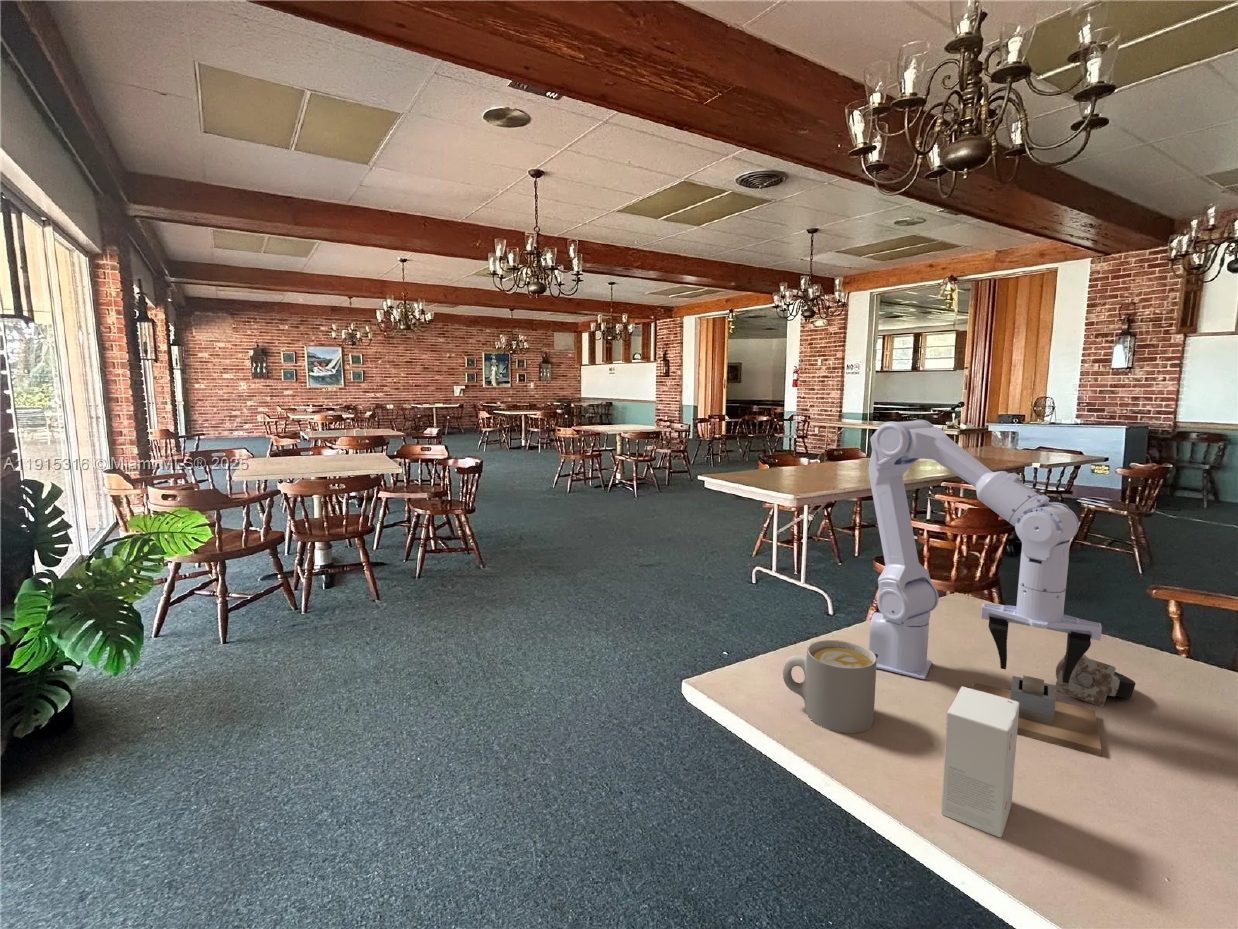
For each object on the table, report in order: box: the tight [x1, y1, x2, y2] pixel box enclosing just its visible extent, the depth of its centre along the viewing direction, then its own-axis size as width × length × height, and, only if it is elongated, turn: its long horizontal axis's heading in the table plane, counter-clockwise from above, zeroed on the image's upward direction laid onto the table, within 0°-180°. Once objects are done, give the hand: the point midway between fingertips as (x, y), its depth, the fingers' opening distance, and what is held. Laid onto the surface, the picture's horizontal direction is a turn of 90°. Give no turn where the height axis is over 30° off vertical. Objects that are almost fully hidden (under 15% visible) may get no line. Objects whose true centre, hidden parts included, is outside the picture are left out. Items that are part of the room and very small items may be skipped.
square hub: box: [1010, 675, 1057, 726], centre depth 91 cm, size 5×5×4 cm
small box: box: [940, 686, 1019, 838], centre depth 72 cm, size 8×6×13 cm
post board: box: [971, 675, 1102, 757], centre depth 91 cm, size 16×12×6 cm
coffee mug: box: [782, 639, 877, 734], centre depth 94 cm, size 13×10×10 cm
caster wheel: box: [1054, 653, 1136, 707], centre depth 99 cm, size 7×11×10 cm
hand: (1033, 673), depth 91 cm, fingers open, 7 cm apart
